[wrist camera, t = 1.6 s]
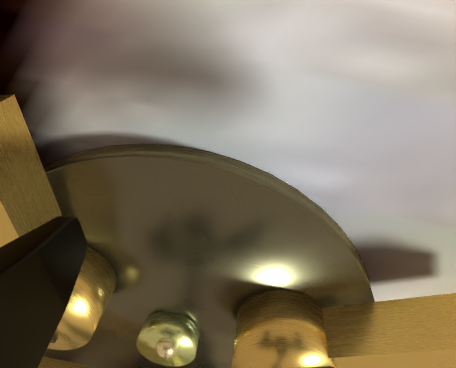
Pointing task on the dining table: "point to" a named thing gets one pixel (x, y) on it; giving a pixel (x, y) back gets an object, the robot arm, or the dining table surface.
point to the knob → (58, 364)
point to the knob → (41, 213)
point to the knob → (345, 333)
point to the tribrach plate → (194, 250)
